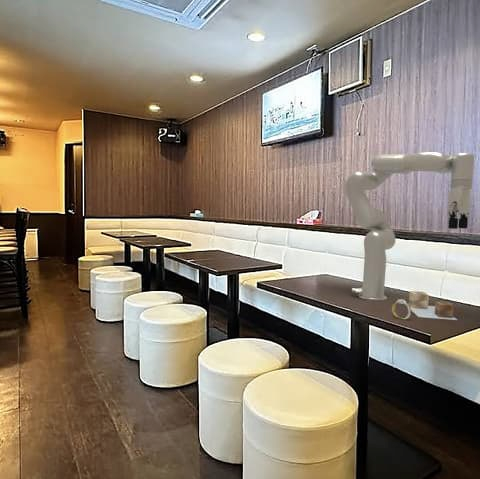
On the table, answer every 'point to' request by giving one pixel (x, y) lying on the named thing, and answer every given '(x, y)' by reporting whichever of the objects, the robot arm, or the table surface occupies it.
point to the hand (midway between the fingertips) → (457, 228)
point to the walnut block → (444, 309)
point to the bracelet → (401, 303)
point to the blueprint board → (428, 313)
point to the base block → (418, 300)
